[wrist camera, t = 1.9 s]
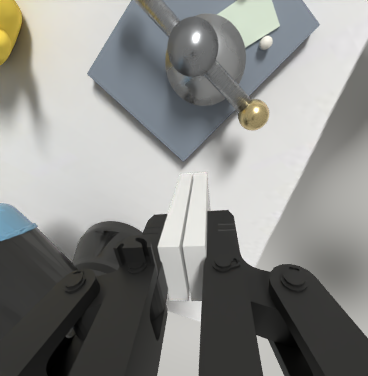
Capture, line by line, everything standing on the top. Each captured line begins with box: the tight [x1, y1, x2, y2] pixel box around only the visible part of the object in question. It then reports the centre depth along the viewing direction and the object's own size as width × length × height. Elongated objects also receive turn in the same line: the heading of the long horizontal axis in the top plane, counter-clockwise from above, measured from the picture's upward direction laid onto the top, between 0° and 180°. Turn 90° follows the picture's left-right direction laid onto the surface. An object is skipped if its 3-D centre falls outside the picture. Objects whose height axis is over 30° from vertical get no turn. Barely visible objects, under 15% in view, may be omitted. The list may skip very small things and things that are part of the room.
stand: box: [87, 0, 320, 162], centre depth 26 cm, size 22×17×3 cm
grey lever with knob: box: [134, 0, 269, 130], centre depth 23 cm, size 21×9×6 cm, turn 47°
